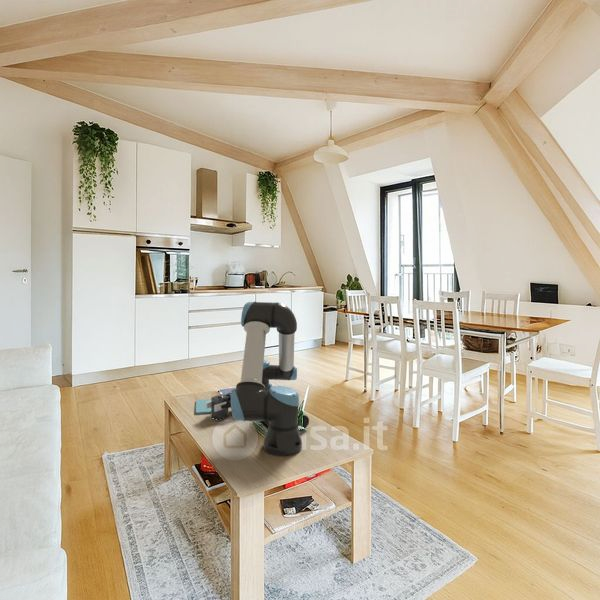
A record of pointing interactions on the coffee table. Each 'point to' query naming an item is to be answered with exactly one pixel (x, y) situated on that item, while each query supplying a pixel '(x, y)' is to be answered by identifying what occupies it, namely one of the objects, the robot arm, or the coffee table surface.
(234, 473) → the coffee table surface
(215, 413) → the lock block
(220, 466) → the coffee table surface
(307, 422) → the end cap
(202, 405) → the teal cloth
